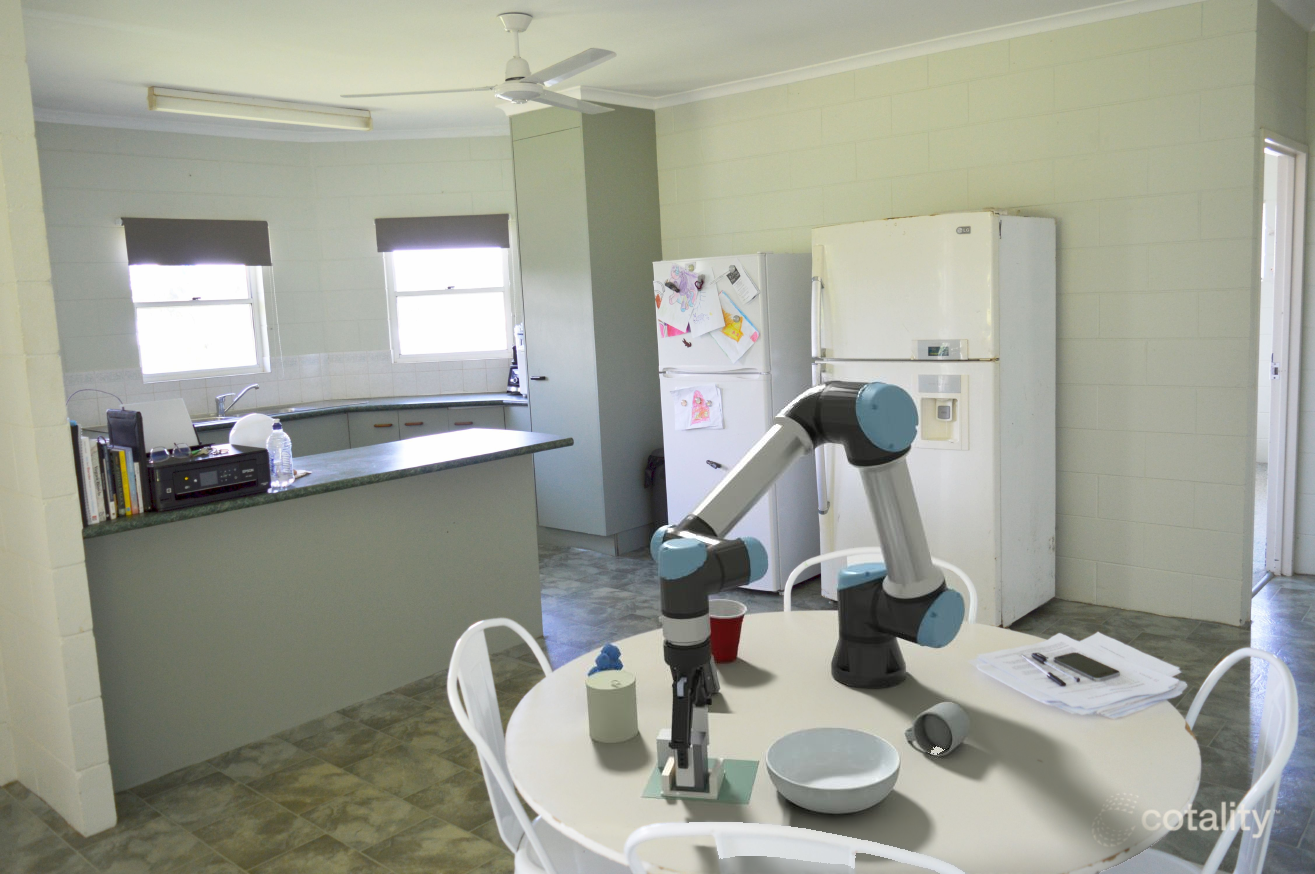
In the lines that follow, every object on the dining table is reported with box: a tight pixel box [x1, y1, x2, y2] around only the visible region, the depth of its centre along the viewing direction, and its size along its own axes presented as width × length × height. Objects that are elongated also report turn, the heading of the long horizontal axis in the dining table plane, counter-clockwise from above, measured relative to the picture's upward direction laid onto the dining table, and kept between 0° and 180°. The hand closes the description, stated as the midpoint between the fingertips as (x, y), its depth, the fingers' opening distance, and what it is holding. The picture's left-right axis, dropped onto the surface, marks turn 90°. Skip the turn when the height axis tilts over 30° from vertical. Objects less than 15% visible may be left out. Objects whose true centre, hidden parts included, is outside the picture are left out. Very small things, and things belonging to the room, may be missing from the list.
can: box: [585, 669, 639, 744], centre depth 176 cm, size 9×9×12 cm
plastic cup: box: [708, 598, 748, 664], centre depth 212 cm, size 11×11×12 cm
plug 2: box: [674, 731, 709, 792], centre depth 155 cm, size 5×4×8 cm
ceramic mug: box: [904, 701, 972, 757], centre depth 168 cm, size 11×8×8 cm
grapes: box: [587, 643, 624, 678], centre depth 192 cm, size 12×7×12 cm, turn 161°
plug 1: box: [655, 728, 674, 768], centre depth 163 cm, size 4×4×5 cm
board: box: [640, 755, 760, 805], centre depth 158 cm, size 17×14×4 cm
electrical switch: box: [669, 654, 721, 698], centre depth 195 cm, size 9×5×9 cm, turn 57°
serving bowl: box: [764, 726, 902, 814], centre depth 153 cm, size 21×21×7 cm
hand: (693, 763), depth 156 cm, fingers open, 13 cm apart
